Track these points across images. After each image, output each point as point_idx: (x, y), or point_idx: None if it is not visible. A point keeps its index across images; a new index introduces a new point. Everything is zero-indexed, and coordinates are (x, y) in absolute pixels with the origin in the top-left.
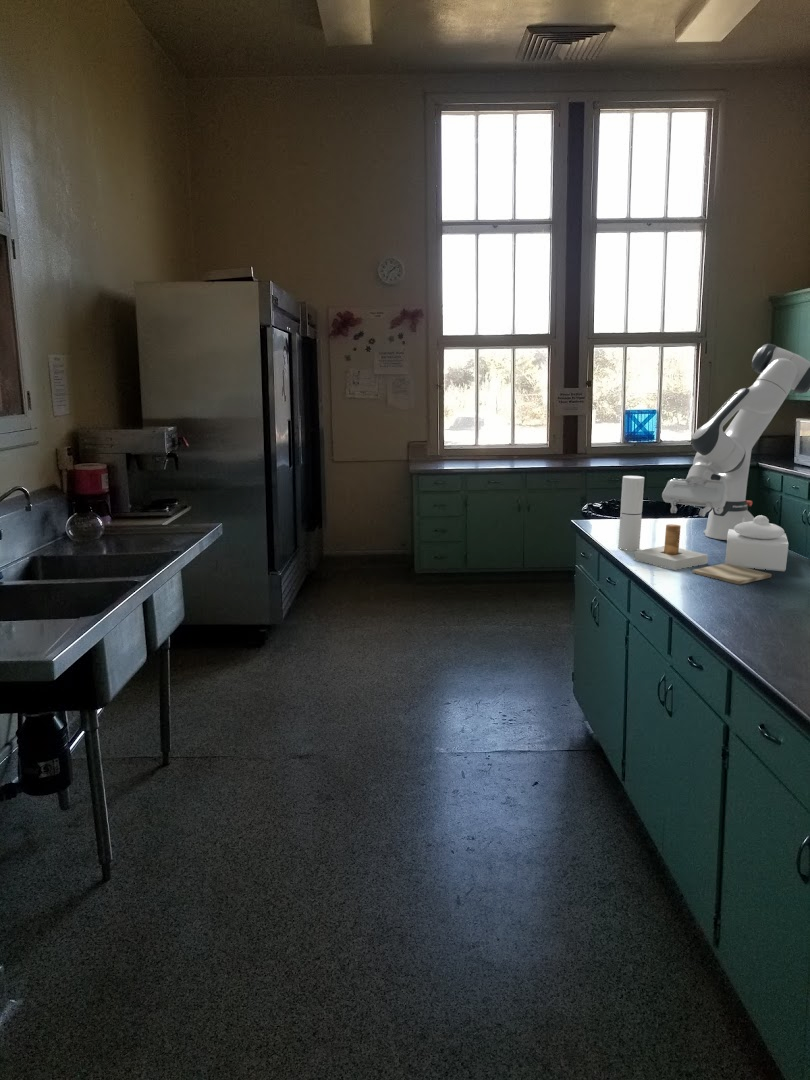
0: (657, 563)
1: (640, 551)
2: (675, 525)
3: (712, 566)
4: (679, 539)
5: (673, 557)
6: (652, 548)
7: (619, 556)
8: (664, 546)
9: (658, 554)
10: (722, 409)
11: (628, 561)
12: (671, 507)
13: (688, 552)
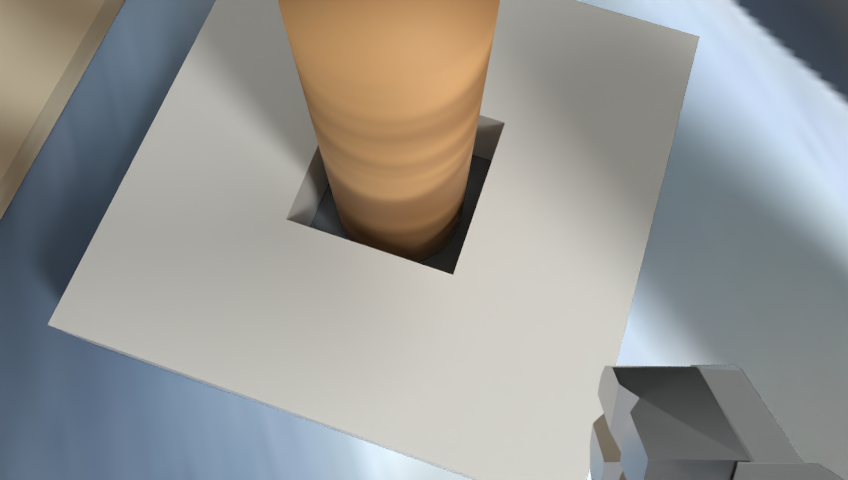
0: None
1: (653, 50)
2: (366, 14)
3: (2, 144)
4: (310, 116)
5: None
6: (632, 245)
7: (832, 128)
8: (580, 434)
9: None
10: None
11: (679, 16)
12: (764, 411)
13: (256, 299)
